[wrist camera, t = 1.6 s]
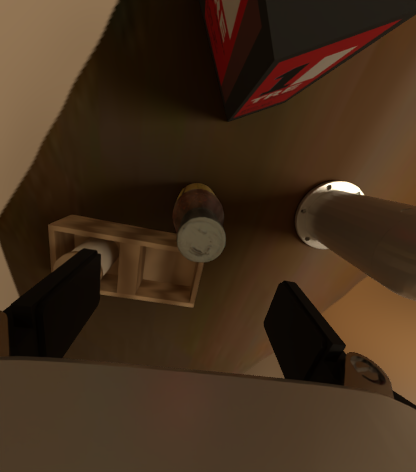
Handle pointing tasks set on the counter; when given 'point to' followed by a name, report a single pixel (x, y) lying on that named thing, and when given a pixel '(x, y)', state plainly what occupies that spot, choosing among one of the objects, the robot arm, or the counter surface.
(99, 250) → the jar
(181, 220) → the sauce bottle
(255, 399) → the robot arm
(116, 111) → the counter surface
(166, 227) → the counter surface
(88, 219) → the caddy
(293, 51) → the cleaning product box
